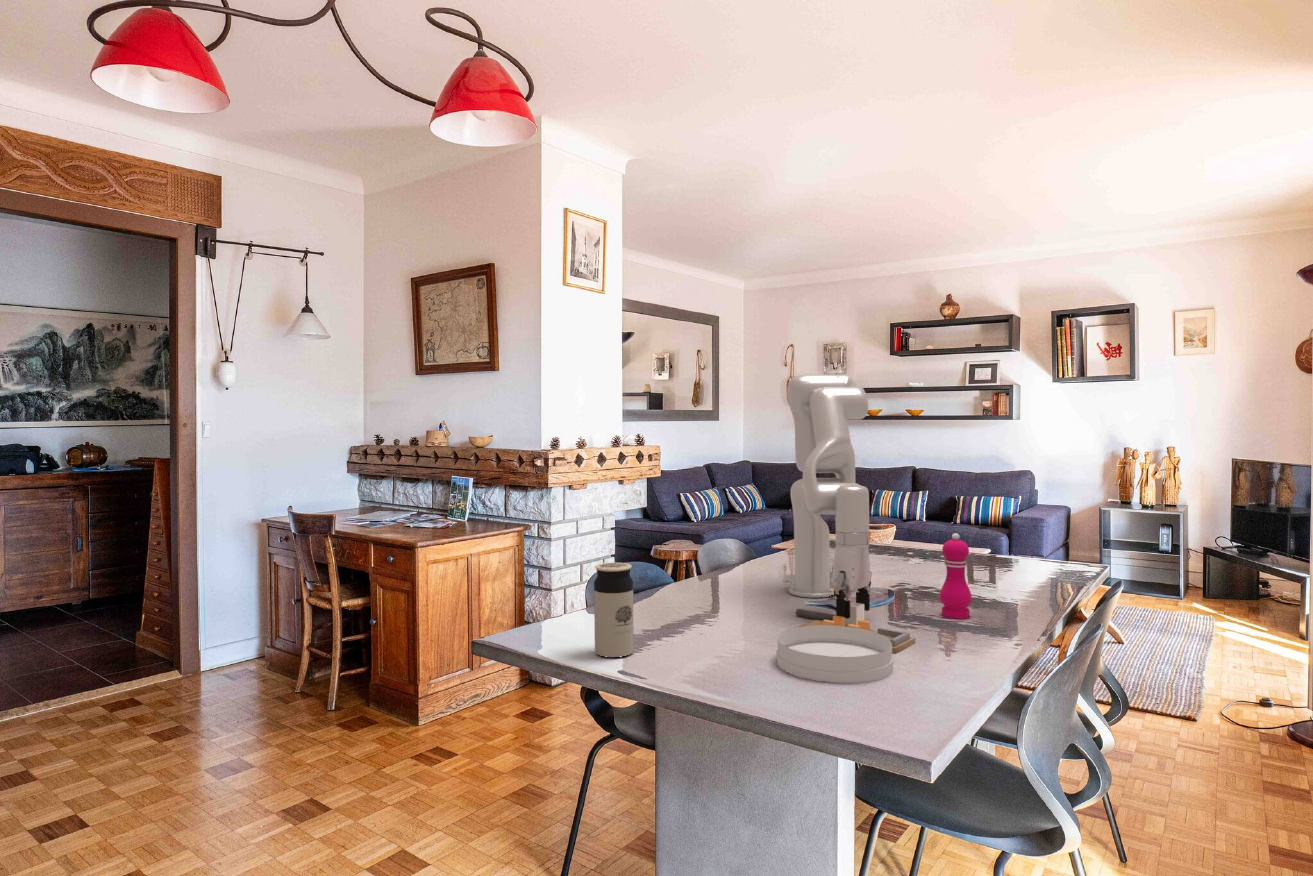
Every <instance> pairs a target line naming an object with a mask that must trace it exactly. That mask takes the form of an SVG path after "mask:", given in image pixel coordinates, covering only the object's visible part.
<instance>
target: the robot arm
mask: <svg viewBox="0 0 1313 876" xmlns="http://www.w3.org/2000/svg"><path fill="white" fill-rule="evenodd" d="M786 392H787V401H788V405H789V409H790V412H791V415H792V418H793V422H794V423H793V424H794V448H795V449H794V452H795V455H794V456H795V457H794V458H795V466H796V468H797V469H798V470H799V471H800V472H801V473H802V478H801V479H798V480H796V481H794V483H792V485H791V487H790V500H791V505H792V508H791V509H792V514H793V538H794V539H793V544H794V545H793V547H794V548H793V549H794V550H793V551H794V552H793V555H794V557H793V558H794V559H793V560H794V564H793V565H794V570H793V571H794V574H792V575H791V574H787V573H786V574H784V575H783V579H782V582H783V583H790V586H789V587H788V593H789V594H790V595H792V596H796V597H800V598H815V599H816V598H817V599H818V598H819V599H820V598H821V597H822V598H828V597H829V596H830V597H832V596H831V595H833V596H834V600H835V610H836V611H835V612H836V613H835V615H836V616H841V617H845V618H847V619H849V618H850V602H851V600H849V599H850V595H851V593H852V592H853V591H857V592H856V593H855V603H861V604H864V612H869V611H870V610H871V609H870V608H871V605H870V604H871V603H870V602H871V601H870V600H871V598H870V597H871V595H870V594H871V588H870V587H871V585H872V581H871V580H872V575H873V573H872V571H871V564H870V563H871V562H870V561H871V560H870V551H869V547H870V492H869V489H868V488H867V487H866V486H863V485H860V484H859V483H856V454H855V449H854V447H853V444H852V441H851V435H850V430H849V424H848V420H854V421H855V420H857V421H858V420H863V419H864V418H865V417H867V414H868V413H869V401H868V400H869V399H868V396H867V393H866V391H865V389H864V387H862V385H861V384H860V383H859V382H858V381H857V380H856V379H855V378H854V377H853V376H852V375H849V374H845V373H844V374H842V373H841V374H839V373H838V374H837V373H834V374H832V373H831V374H829V373H828V374H824V373H823V374H822V373H816V374H815V373H811V374H808V373H807V374H800V375H796V376H794V377H792V378H791V379H790V380H789V382H788V384H787V390H786ZM817 474H834V475H835V477H817ZM821 515H835V550H834V556H833V569H832V571H833V572H832V586H831V584H830V583H831V581H830V580H831V579H830V578H831V576H830V573H831V572H830V571H831V567H830V566H831V565H830V562H831V561H830V559H831V558H830V556H831V555H830V551H831V550H830V549H831V547H830V544H831V542H830V529H829V525H828V524H827V522H826V521H825V520H824V519H823V518H822V516H821ZM834 594H835V595H834ZM830 597H829V598H830ZM822 598H821V599H822Z"/></svg>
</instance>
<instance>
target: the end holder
mask: <svg viewBox="0 0 1313 876" xmlns="http://www.w3.org/2000/svg"><path fill="white" fill-rule="evenodd" d="M877 631H878V634H881V635H886V636H891V637H895V638H893V639H891V638H888V639H890V641H891V643H892V646H897V645H899V644H901V643H903V642H905V641H906V640H908V639H910V637H911V633H910V632H906V631H901V630H896V629H890V628H889V629H888V628H885V627H878V628H877Z"/></svg>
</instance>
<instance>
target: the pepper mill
mask: <svg viewBox="0 0 1313 876" xmlns="http://www.w3.org/2000/svg"><path fill="white" fill-rule="evenodd" d="M960 537H961V536H960V534H959V533H953V534H952V535H951V539H950V540H949V539H948V540H947V541H945V542H944V543H943V544H942V545H943V546H942V550H941V551H942V554H943V556H944V557H945V558H944V560H943V561H944V566H945V567H946V577H945V580H944V583H943V584H942V587H941V589H940V591H939V600H940V602H941V603H942V604H943V606H942V607H941V615H942V616H943V617H945V618H948V619H954V620H955V619H956V620H961V619H962V620H965V618H966V619H969V618H970V612H971V611H970V608H968V607H969V606H970V605H971V603H972V600H973V599H972V592H971V590H970V587H969V586H968V584H967V581H966V577H965V576H966V575H965V570H966V569H965V568H967V566H968V565H967V562H968V561H967V560H966V559H967V558H968V556H969V554H970V549H969V545H968V544H967V543H966V542H965V541H963V540H961V539H960ZM968 617H969V618H968Z"/></svg>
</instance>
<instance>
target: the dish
mask: <svg viewBox="0 0 1313 876" xmlns="http://www.w3.org/2000/svg"><path fill="white" fill-rule="evenodd" d="M795 627H796V628H795ZM795 627H793V628H789V629H785V630H784V631H782V632H780V633H779V634H778V635H777V649H776V665H777V666H778V665H779V666H778V668H779V669H780V670H782V669H783V670H782V671H784V670H785V671H784V672H785V673H787V672H789V673H790V675H792V674H794V675H793V676H795V677H798V678H801V679H805V678H807V679H806V680H810V679H812V680H811V681H814V680H816V682H821V681H826V682H825V683H829V682H833V684H860V683H861V682H862V683H867V682H868V681H869V682H875V681H878V680H882V679H884V678H887V677H888V676H890V675H891V674H892V672H893V669H894V658H893V655H892V654H893V653H892V643H891V641H890V639H888V638H887V637H885V636H883V635H881V634H878V633H876V632H872V631H869V630H865V629H859V628H853V627H845V626H831V625H817V626H804V627H798V626H795ZM824 638H825V639H824ZM870 644H871V645H870ZM789 673H788V674H789ZM834 682H836V683H834ZM855 682H856V683H855ZM869 682H868V683H869ZM862 683H861V684H862Z"/></svg>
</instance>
